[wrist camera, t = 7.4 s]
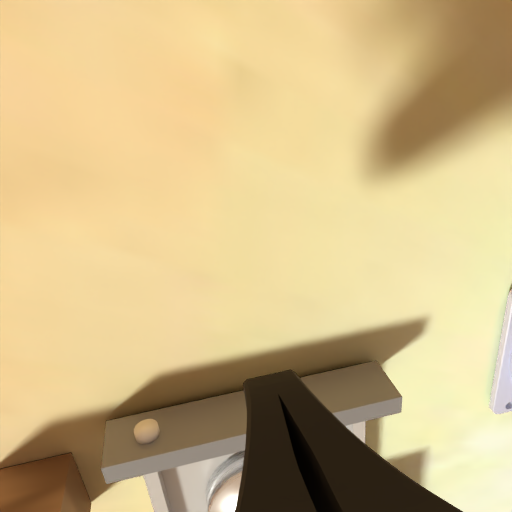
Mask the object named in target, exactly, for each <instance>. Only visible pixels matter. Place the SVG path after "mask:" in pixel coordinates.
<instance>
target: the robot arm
mask: <svg viewBox="0 0 512 512" xmlns="http://www.w3.org/2000/svg"><path fill="white" fill-rule="evenodd" d="M243 387H244V394H245V402H246V409H247V428H246V444H245V454H244V461H243V469H242V476H241V482H240V488H239V493H238V498H237V503H236V508H235V512H463V511H461V510H459V509H458V508H456V507H454V506H453V505H451V504H449V503H448V502H446V501H445V500H443V499H441V498H440V497H438V496H437V495H435V494H433V493H432V492H430V491H428V490H427V489H425V488H424V487H422V486H421V485H419V484H418V483H416V482H415V481H413V480H412V479H410V478H409V477H408V476H406V475H405V474H403V473H402V472H400V471H399V470H398V469H396V468H395V467H394V466H392V465H391V464H390V463H388V462H387V461H386V460H384V459H383V458H382V457H381V456H379V455H378V454H377V453H376V452H374V451H373V450H372V449H371V448H369V447H368V446H367V445H366V444H365V443H364V442H362V441H361V440H360V439H359V438H358V437H357V436H356V435H354V434H353V433H352V432H351V431H350V430H349V429H348V428H347V427H346V426H345V425H344V424H342V423H341V422H340V421H339V420H338V419H337V418H336V417H335V416H334V415H333V414H332V413H331V412H330V411H329V410H328V409H327V408H326V407H325V406H324V405H323V404H322V403H321V402H320V401H319V399H318V398H317V397H316V396H315V395H314V394H313V393H312V392H311V391H310V390H309V389H308V387H307V386H306V385H305V384H304V383H303V382H302V380H301V379H300V378H299V377H298V375H297V374H296V373H295V372H294V371H292V370H287V371H283V372H278V373H274V374H269V375H265V376H260V377H256V378H252V379H247V380H246V381H245V382H244V383H243ZM489 408H490V409H491V410H492V411H493V412H494V413H495V414H501V413H505V412H509V411H512V289H511V290H510V292H509V294H508V299H507V305H506V311H505V316H504V322H503V328H502V334H501V339H500V345H499V351H498V357H497V362H496V368H495V374H494V380H493V385H492V391H491V397H490V403H489Z"/></svg>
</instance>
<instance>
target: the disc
mask: <svg viewBox="0 0 512 512" xmlns="http://www.w3.org/2000/svg"><path fill="white" fill-rule="evenodd" d="M244 454H245V450H244V451H240V452H238V453H236V454H234V455H232V456H231V457H229V458H228V459H226V460H225V461H224V462H223V463H221V464H220V465H219V466H218V467H217V469H216V470H215V471H214V472H213V474H212V475H211V477H210V479H209V481H208V483H207V487H206V502H207V511H208V512H235V508H236V503H237V498H238V493H239V488H240V482H241V476H242V469H243V461H244Z"/></svg>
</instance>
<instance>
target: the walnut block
mask: <svg viewBox="0 0 512 512" xmlns="http://www.w3.org/2000/svg"><path fill="white" fill-rule="evenodd" d="M90 509H91V501H90V499H89V496H88V494H87V491H86V489H85V486H84V484H83V481H82V478H81V476H80V473H79V471H78V468H77V466H76V463H75V461H74V458H73V456H72V453H68V454H64V455H60V456H55V457H51V458H47V459H42V460H38V461H34V462H29V463H25V464H21V465H16V466H12V467H8V468H3V469H0V512H90Z"/></svg>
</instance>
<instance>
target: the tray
mask: <svg viewBox="0 0 512 512" xmlns="http://www.w3.org/2000/svg"><path fill="white" fill-rule="evenodd" d="M300 379H301V380H302V382H303V383H304V384H305V385H306V386H307V387H308V389H309V390H310V391H311V392H312V393H313V394H314V395H315V396H316V397H317V398H318V399H319V401H320V402H321V403H322V404H323V405H324V406H325V407H326V408H327V409H328V410H329V411H330V412H331V413H332V414H333V415H334V416H335V417H336V418H337V419H338V420H339V421H340V422H341V423H342V424H344V425H345V426H346V427H347V428H348V429H349V430H350V431H351V432H352V433H353V434H354V435H356V436H357V437H358V438H359V439H360V440H361V441H362V442H364V443H365V421H368V420H372V419H376V418H380V417H384V416H388V415H392V414H396V413H400V412H401V407H402V396H401V394H400V393H399V392H398V390H397V389H396V387H395V386H394V385H393V383H392V382H391V380H390V379H389V378H388V376H387V375H386V373H385V372H384V371H383V369H382V368H381V366H380V365H379V363H378V362H377V361H372V362H367V363H363V364H359V365H354V366H350V367H345V368H341V369H336V370H332V371H327V372H323V373H318V374H314V375H309V376H305V377H301V378H300ZM246 428H247V409H246V402H245V394H244V390H243V391H238V392H234V393H229V394H225V395H220V396H216V397H211V398H207V399H202V400H198V401H193V402H189V403H185V404H180V405H176V406H171V407H167V408H162V409H158V410H153V411H149V412H144V413H140V414H136V415H131V416H127V417H122V418H118V419H113V420H109V421H106V427H105V436H104V445H103V454H102V463H101V470H102V473H103V476H104V479H105V482H106V484H109V483H113V482H117V481H121V480H125V479H130V478H134V477H138V476H142V475H143V476H144V480H145V483H146V486H147V489H148V493H149V496H150V499H151V503H152V506H153V509H154V512H208V511H207V502H206V487H207V483H208V481H209V479H210V477H211V475H212V474H213V472H214V471H215V470H216V469H217V467H218V466H219V465H220V464H221V463H223V462H224V461H225V460H226V459H228V458H229V457H231V456H232V455H234V454H236V453H238V452H240V451H244V450H245V444H246Z"/></svg>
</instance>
